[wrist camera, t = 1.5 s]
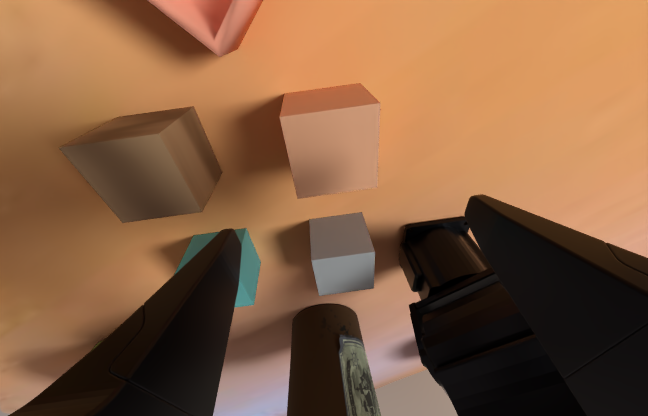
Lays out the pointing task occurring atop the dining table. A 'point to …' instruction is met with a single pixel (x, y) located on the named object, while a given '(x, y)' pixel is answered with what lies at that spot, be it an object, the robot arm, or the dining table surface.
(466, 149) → the dining table surface
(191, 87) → the dining table surface
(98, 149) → the walnut block
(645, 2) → the dining table surface
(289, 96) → the terracotta block
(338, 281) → the slate grey block
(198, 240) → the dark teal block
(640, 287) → the robot arm
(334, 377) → the olive oil
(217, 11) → the pottery
